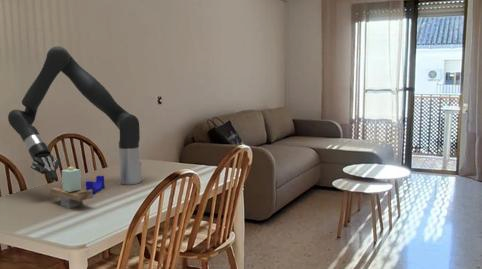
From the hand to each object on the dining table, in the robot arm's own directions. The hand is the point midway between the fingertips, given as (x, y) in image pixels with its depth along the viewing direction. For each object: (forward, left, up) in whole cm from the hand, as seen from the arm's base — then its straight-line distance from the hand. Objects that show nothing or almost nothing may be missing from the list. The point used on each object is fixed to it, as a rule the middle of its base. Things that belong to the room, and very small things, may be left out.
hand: (54, 179), depth 191 cm
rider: (0, +12, -3) cm, 12 cm away
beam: (0, +11, -9) cm, 14 cm away
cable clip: (-18, 0, -9) cm, 21 cm away
